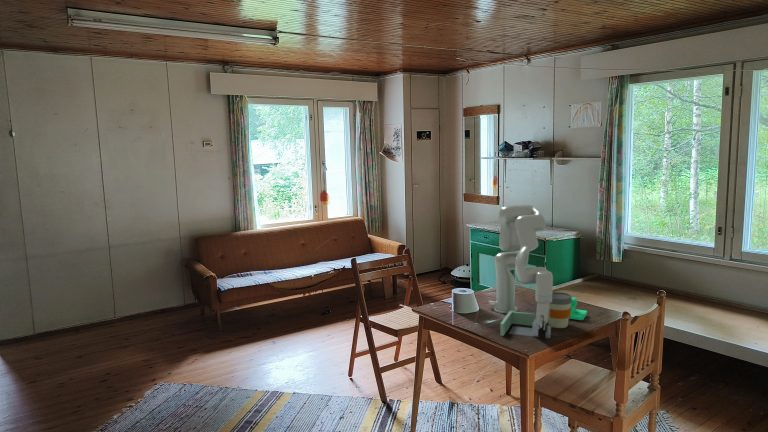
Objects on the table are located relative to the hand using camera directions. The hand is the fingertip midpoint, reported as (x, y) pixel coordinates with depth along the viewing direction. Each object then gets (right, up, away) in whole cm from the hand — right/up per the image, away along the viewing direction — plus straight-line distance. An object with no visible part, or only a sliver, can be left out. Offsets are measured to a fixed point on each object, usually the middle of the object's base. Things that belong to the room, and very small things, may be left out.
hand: (543, 334), depth 245 cm
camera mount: (+25, +2, +26) cm, 36 cm away
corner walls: (-8, 0, +9) cm, 12 cm away
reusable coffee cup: (+12, +1, +16) cm, 19 cm away
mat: (-7, -1, +8) cm, 11 cm away
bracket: (0, -1, +3) cm, 3 cm away
